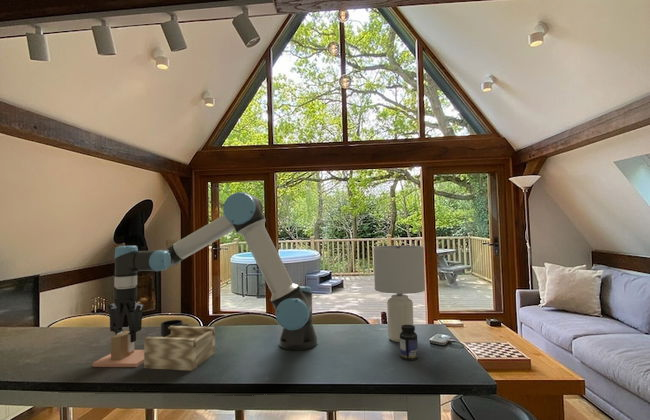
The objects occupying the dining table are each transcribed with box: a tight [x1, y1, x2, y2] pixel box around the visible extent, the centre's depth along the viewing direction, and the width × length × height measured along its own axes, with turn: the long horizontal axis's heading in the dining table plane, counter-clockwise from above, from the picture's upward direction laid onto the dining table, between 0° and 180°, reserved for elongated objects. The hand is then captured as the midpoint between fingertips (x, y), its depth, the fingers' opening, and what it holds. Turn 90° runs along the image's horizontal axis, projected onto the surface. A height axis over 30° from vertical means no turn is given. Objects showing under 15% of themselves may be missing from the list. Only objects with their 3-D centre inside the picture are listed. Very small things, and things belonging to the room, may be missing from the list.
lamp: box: [373, 244, 426, 343], centre depth 148 cm, size 20×20×39 cm
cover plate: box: [92, 330, 144, 368], centre depth 131 cm, size 16×14×9 cm
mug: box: [160, 319, 191, 337], centre depth 144 cm, size 8×12×10 cm
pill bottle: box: [399, 324, 419, 361], centre depth 127 cm, size 6×6×11 cm
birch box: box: [143, 325, 216, 371], centre depth 129 cm, size 18×16×10 cm
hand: (125, 350), depth 132 cm, fingers closed on cover plate, 4 cm apart
